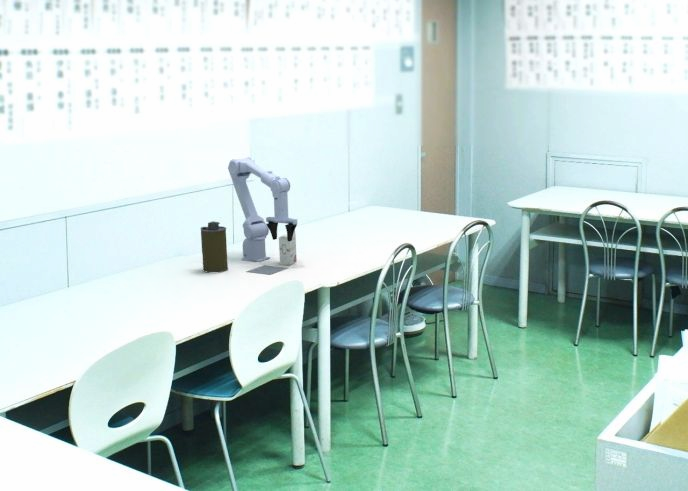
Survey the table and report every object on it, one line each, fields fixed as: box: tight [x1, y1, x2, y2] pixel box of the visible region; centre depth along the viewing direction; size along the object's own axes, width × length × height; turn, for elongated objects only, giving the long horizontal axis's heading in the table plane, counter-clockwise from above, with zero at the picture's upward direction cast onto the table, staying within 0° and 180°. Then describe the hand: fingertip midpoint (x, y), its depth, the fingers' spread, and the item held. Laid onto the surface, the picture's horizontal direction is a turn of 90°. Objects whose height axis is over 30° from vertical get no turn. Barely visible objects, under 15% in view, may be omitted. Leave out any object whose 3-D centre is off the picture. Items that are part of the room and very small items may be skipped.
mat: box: [245, 264, 289, 276], centre depth 405 cm, size 12×13×1 cm
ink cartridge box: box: [278, 229, 297, 266], centre depth 416 cm, size 9×5×15 cm, turn 165°
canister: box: [200, 221, 229, 273], centre depth 405 cm, size 11×10×20 cm
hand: (282, 240), depth 412 cm, fingers open, 7 cm apart
